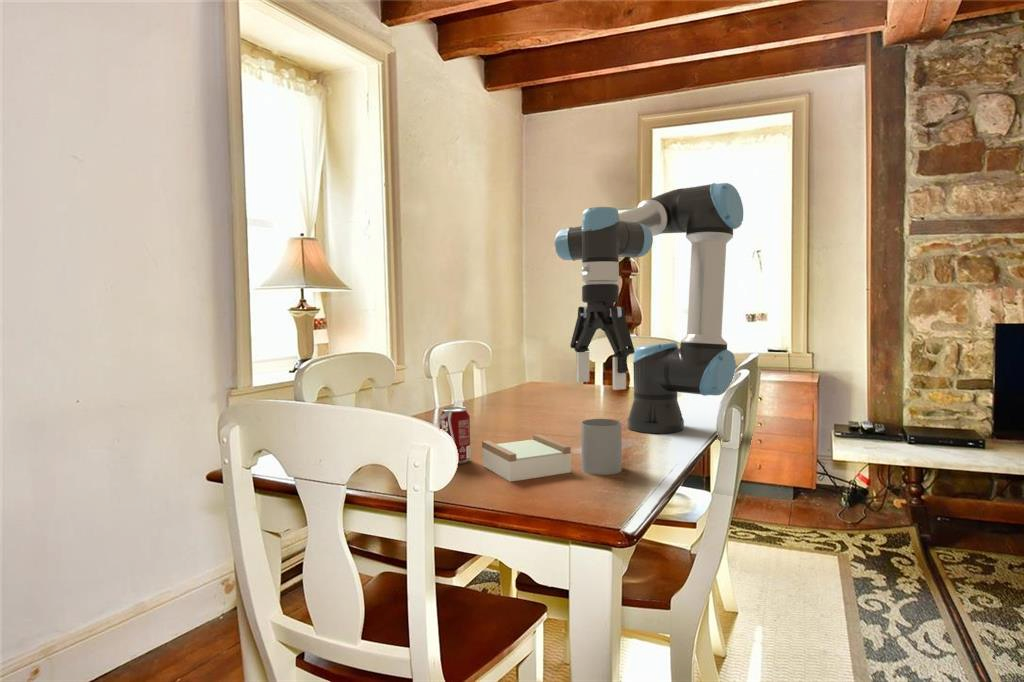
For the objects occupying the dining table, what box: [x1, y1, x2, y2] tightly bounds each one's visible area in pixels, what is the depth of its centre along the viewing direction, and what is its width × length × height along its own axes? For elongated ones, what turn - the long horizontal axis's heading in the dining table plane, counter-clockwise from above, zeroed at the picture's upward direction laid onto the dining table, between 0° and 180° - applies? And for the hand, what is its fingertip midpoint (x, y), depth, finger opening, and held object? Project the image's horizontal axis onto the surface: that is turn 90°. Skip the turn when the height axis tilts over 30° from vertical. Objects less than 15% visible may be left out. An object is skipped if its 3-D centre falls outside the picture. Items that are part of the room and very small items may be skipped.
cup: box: [580, 418, 623, 476], centre depth 135 cm, size 8×8×10 cm
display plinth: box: [481, 434, 572, 483], centre depth 137 cm, size 14×14×5 cm
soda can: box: [438, 406, 472, 465], centre depth 143 cm, size 7×7×12 cm
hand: (600, 385), depth 134 cm, fingers open, 13 cm apart
